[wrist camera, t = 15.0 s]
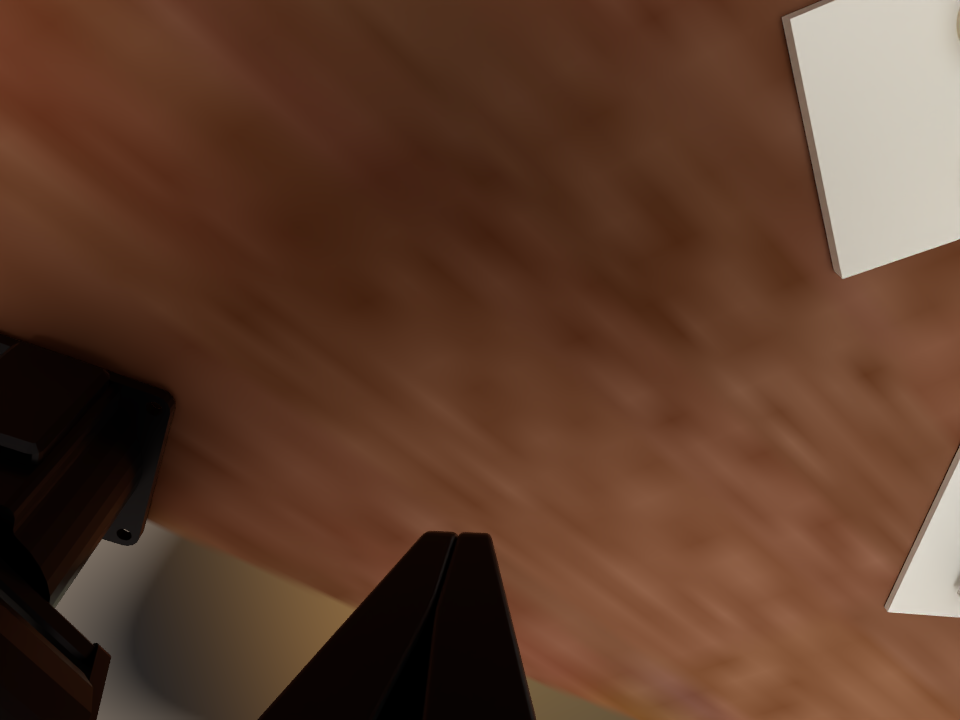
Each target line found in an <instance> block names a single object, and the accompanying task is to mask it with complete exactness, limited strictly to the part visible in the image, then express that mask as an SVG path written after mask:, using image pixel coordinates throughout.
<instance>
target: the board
mask: <svg viewBox="0 0 960 720" xmlns="http://www.w3.org/2000/svg"><path fill="white" fill-rule="evenodd" d="M782 22H783V27H784V31H785V36H786V41H787V46H788V51H789V56H790V61H791V65H792V70H793V75H794V80H795V85H796V90H797V94H798V99H799V104H800V109H801V114H802V119H803V124H804V128H805V133H806V138H807V143H808V148H809V153H810V158H811V162H812V167H813V172H814V177H815V182H816V187H817V191H818V196H819V201H820V206H821V211H822V216H823V221H824V225H825V230H826V235H827V240H828V245H829V250H830V255H831V259H832V264H833V269H834V271H835V272H836V273H837V274H838V275H839V276H840V277H841V278H842V279H844V278H847V277H850V276H853V275H856V274H859V273H862V272H865V271H868V270H871V269H874V268H876V267H879V266H882V265H885V264H888V263H891V262H894V261H897V260H900V259H903V258H906V257H909V256H912V255H915V254H918V253H920V252H923V251H926V250H929V249H932V248H935V247H938V246H941V245H944V244H947V243H950V242H953V241H956V240H959V239H960V0H821V1H819V2H817V3H814V4H812V5H809V6H807V7H805V8H802V9H800V10H797V11H795V12H793V13H790V14H788V15H785V16H783V17H782Z"/></svg>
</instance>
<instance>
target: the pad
mask: <svg viewBox="0 0 960 720" xmlns="http://www.w3.org/2000/svg"><path fill="white" fill-rule="evenodd" d="M959 588H960V447H959V449H958V451H957V453H956V455H955V457H954V459H953V461H952V464H951V466H950V468H949V470H948V472H947V474H946V476H945V479H944V481H943V483H942V485H941V487H940V489H939V491H938V493H937V496H936V498H935V500H934V502H933V504H932V506H931V508H930V511H929V513H928V515H927V517H926V519H925V521H924V523H923V525H922V528H921V530H920V532H919V534H918V536H917V538H916V540H915V543H914V545H913V547H912V549H911V551H910V553H909V555H908V557H907V560H906V562H905V564H904V566H903V568H902V570H901V572H900V574H899V577H898V579H897V581H896V583H895V585H894V587H893V589H892V592H891V594H890V596H889V598H888V600H887V602H886V604H885V606H884V607H885V609H886V610H887V612H894V613H907V614H921V615H934V616H948V617H960V597H959V596H958V594H957V592H958V590H959Z"/></svg>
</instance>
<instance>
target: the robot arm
mask: <svg viewBox="0 0 960 720" xmlns="http://www.w3.org/2000/svg"><path fill="white" fill-rule="evenodd" d="M151 402H156V403H158V404H159V405H160V406H161V407H162V409H158V408H156V407H154V406H153V405H152V403H151ZM174 409H175V401H174V399H173V397H172V396H171V395H170V394H169V393H168V392H166V391H165V390H163V389H160V388H157V387H154V386H151V385H148V384H145V383H142V382H139V381H136V380H134V379H131V378H128V377H125V376H122V375H119V374H116V373H113V372H110V371H107V370H104V369H102V368H100V367H97V366H94V365H91V364H88V363H85V362H82V361H79V360H76V359H73V358H70V357H68V356H65V355H62V354H59V353H56V352H53V351H50V350H47V349H44V348H41V347H38V346H35V345H32V344H29V343H26V342H22V341H19V340H16V339H13V338H10V337H8V336H5V335H2V334H0V720H96V719H97V715H98V711H99V706H100V702H101V698H102V694H103V689H104V685H105V681H106V677H107V672H108V668H109V664H110V660H111V655H110V654H109V653H108V652H106V651H105V650H104V649H103V648H102V647H101V646H100V645H99V644H98V643H94V644H92V643H91V642H90V641H89V640H88V639H87V638H86V637H84V635H83V634H82V633H80V632H79V631H78V630H77V629H76V628H75V627H74V626H73V625H72V624H71V623H70V622H69V621H68V620H67V619H65V617H63V616H62V615H61V614H60V613H59V612H58V611H57V610H56V609H55V607H56V606H57V604H58V603H59V601H60V600H61V598H62V597H63V595H64V594H65V592H66V591H67V590H68V588H69V587H70V585H71V584H72V582H73V580H74V579H75V578H76V576H77V575H78V573H79V572H80V570H81V569H82V567H83V566H84V565H85V563H86V562H87V560H88V558H89V557H90V556H91V554H92V553H93V551H94V550H95V548H96V547H97V545H98V544H99V542H100V541H101V539H104V540H107V541H111V542H114V543H117V544H121V545H126V546H129V545H133V544H135V543H137V541H138V540H139V538H140V536H141V535H142V533H143V531H144V528H145V524H146V520H147V516H148V512H149V508H150V504H151V500H152V496H153V492H154V488H155V484H156V480H157V476H158V472H159V469H160V465H161V461H162V457H163V453H164V449H165V445H166V441H167V437H168V433H169V429H170V425H171V421H172V417H173V413H174ZM124 529H126V530H128V531H129V532H127V531H125V530H124ZM258 720H536V716H535V712H534V708H533V704H532V700H531V696H530V692H529V688H528V684H527V680H526V676H525V672H524V668H523V663H522V659H521V655H520V651H519V647H518V643H517V639H516V635H515V631H514V627H513V623H512V619H511V615H510V611H509V607H508V602H507V598H506V594H505V590H504V586H503V582H502V578H501V574H500V570H499V566H498V562H497V558H496V554H495V550H494V546H493V542H492V538H491V536H490V535H489V534H488V533H471V532H463V533H461V534H459V536H458V535H457V534H456V533H454V532H443V531H428V532H426V533H424V534H423V535H422V536H421V537H420V538H419V539H418V540H417V542H416V543H415V544H414V545H413V546H412V547H411V548H410V549H409V551H408V552H407V553H406V554H405V555H404V556H403V557H402V558H401V559H400V561H399V562H398V563H397V564H396V565H395V566H394V567H393V568H392V570H391V571H390V572H389V573H388V574H387V575H386V576H385V577H384V579H383V580H382V581H381V582H380V583H379V584H378V585H377V586H376V587H375V589H374V590H373V591H372V592H371V593H370V594H369V595H368V596H367V598H366V599H365V600H364V601H363V602H362V603H361V604H360V605H359V607H358V608H357V609H356V610H355V611H354V612H353V613H352V614H351V615H350V617H349V618H348V619H347V620H346V621H345V622H344V623H343V625H342V626H341V627H340V628H339V629H338V630H337V631H336V632H335V634H334V635H333V636H332V637H331V638H330V639H329V640H328V641H327V642H326V644H325V645H324V646H323V647H322V648H321V649H320V650H319V651H318V652H317V654H316V655H315V656H314V657H313V658H312V659H311V660H310V662H309V663H308V664H307V665H306V666H305V667H304V668H303V669H302V670H301V672H300V673H299V674H298V675H297V676H296V677H295V678H294V680H292V682H291V683H290V684H289V685H288V686H287V687H286V688H285V689H284V691H283V692H282V693H281V694H280V695H279V696H278V697H277V698H276V700H275V701H274V702H273V703H272V704H271V705H270V706H269V708H267V710H266V711H265V712H264V713H263V714H262V715H261V716H260V717H259V719H258Z"/></svg>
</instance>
